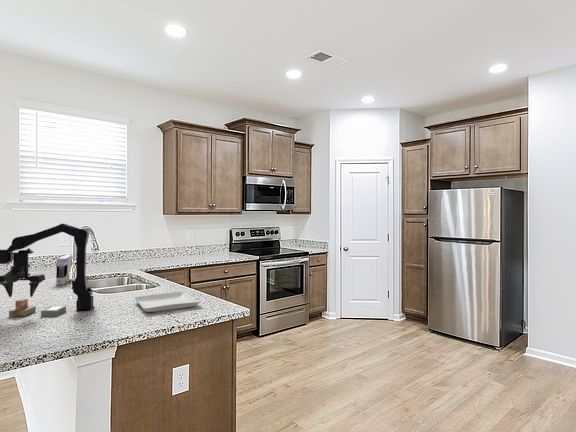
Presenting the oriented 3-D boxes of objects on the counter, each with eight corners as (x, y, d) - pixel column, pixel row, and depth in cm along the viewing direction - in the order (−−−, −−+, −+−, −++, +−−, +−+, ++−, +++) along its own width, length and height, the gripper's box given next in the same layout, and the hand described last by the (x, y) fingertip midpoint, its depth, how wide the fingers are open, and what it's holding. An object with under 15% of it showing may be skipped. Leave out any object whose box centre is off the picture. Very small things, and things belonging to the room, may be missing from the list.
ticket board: (65, 311, 178) (65, 305, 178) (56, 316, 170) (56, 310, 170) (50, 311, 177) (50, 306, 177) (40, 316, 169) (40, 310, 169)
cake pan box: (63, 285, 240) (63, 258, 239) (54, 285, 238) (54, 258, 238) (73, 279, 258) (73, 254, 258) (65, 280, 257) (65, 254, 257)
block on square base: (35, 311, 177) (35, 297, 176) (25, 316, 169) (25, 301, 168) (20, 311, 176) (20, 298, 176) (8, 316, 168) (8, 302, 168)
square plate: (143, 316, 172) (143, 307, 172) (132, 303, 195) (132, 296, 195) (199, 308, 186) (199, 300, 186) (183, 297, 209) (183, 290, 209)
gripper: (-14, 266, 163) (-13, 301, 163) (31, 265, 165) (31, 300, 165) (4, 262, 174) (4, 295, 174) (45, 262, 176) (45, 295, 176)
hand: (20, 296), depth 172 cm, fingers open, 9 cm apart
